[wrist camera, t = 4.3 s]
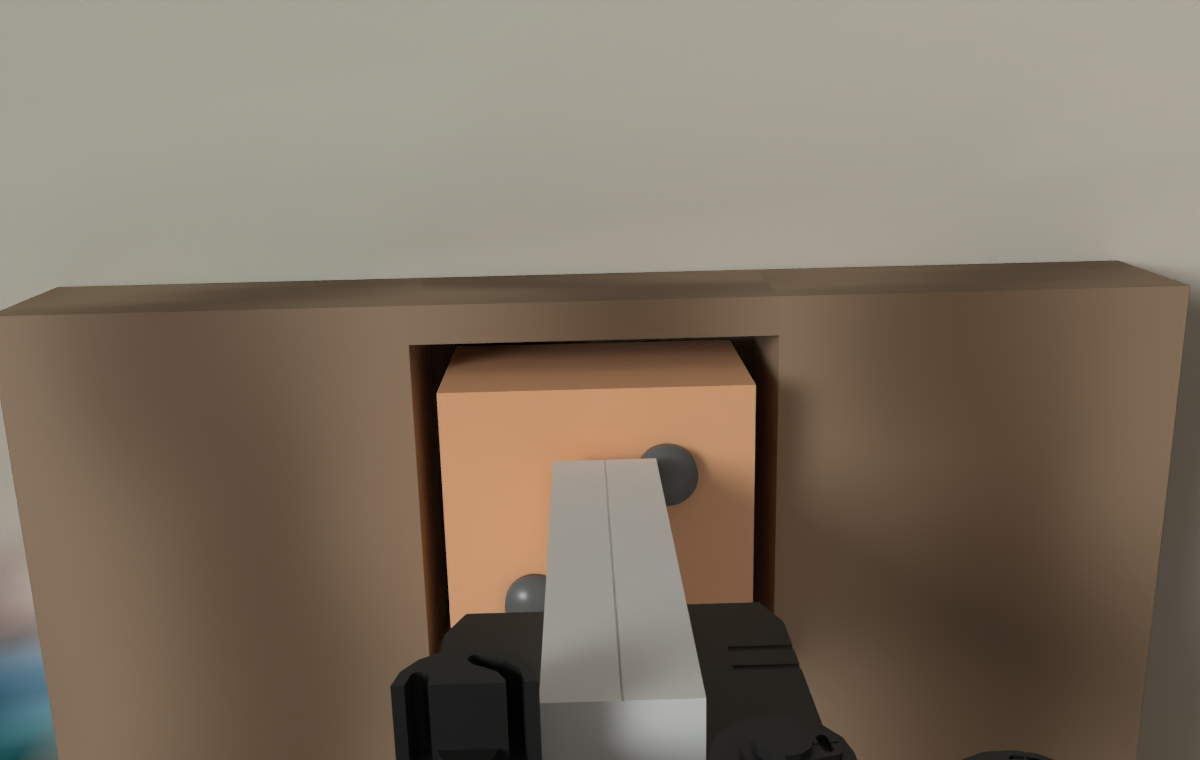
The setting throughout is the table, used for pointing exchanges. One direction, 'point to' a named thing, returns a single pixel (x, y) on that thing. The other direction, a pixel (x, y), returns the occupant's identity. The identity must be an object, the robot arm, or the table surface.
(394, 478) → the board
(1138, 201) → the table surface
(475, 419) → the tile
